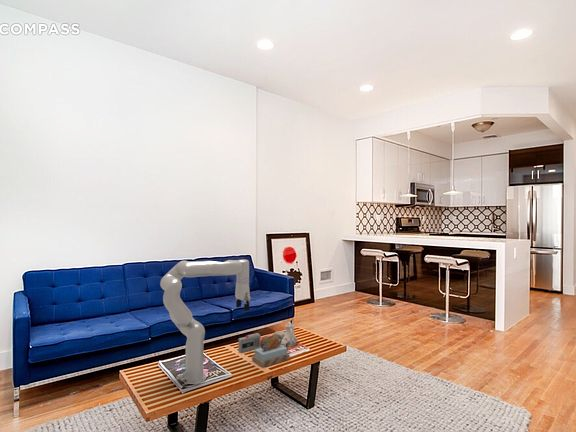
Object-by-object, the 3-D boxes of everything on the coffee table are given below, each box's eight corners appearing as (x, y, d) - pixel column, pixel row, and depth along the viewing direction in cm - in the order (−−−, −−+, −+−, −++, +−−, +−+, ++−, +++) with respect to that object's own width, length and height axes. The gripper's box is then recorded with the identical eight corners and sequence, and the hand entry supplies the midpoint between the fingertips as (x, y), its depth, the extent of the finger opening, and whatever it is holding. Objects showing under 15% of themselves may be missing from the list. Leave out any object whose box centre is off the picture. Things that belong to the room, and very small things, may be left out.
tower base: (262, 369, 203) (262, 362, 203) (252, 362, 212) (252, 356, 212) (289, 360, 214) (289, 354, 215) (278, 354, 224) (278, 348, 224)
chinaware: (272, 340, 253) (269, 318, 253) (294, 336, 256) (291, 314, 256) (277, 355, 226) (274, 330, 225) (301, 351, 228) (299, 326, 228)
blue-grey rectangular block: (262, 361, 204) (262, 354, 204) (254, 356, 212) (254, 349, 212) (287, 354, 215) (287, 348, 215) (278, 349, 223) (278, 343, 223)
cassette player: (240, 353, 224) (240, 338, 225) (238, 352, 227) (238, 337, 227) (260, 348, 234) (260, 333, 234) (258, 346, 236) (258, 332, 236)
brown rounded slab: (262, 352, 208) (262, 338, 208) (259, 350, 210) (259, 337, 210) (281, 346, 217) (281, 333, 217) (278, 345, 219) (278, 332, 220)
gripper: (230, 278, 211) (230, 306, 210) (244, 283, 197) (244, 312, 197) (241, 277, 215) (241, 304, 215) (255, 281, 201) (255, 310, 201)
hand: (242, 308), depth 206 cm, fingers open, 9 cm apart
